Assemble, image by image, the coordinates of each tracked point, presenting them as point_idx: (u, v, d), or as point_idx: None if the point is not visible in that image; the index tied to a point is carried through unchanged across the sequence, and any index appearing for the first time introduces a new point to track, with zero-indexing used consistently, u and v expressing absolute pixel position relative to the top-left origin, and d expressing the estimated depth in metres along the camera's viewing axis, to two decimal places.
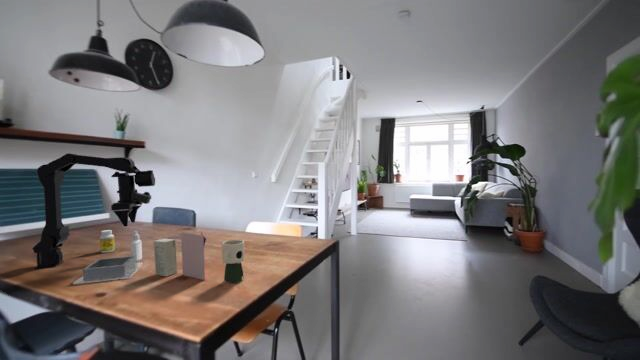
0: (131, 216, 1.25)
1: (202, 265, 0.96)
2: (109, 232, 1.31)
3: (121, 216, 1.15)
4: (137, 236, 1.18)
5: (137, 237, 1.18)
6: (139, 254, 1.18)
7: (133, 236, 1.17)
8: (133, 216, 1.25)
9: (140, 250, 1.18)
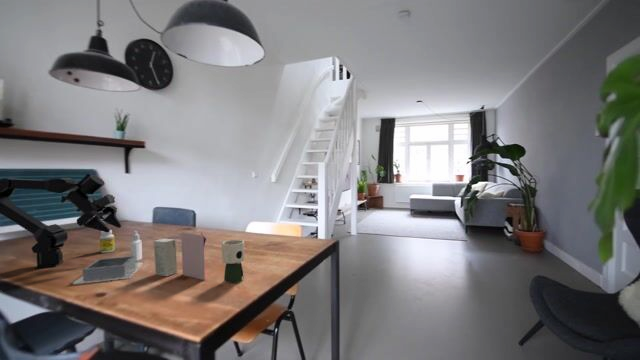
0: (114, 223, 1.21)
1: (202, 265, 0.96)
2: (109, 232, 1.31)
3: (96, 226, 1.10)
4: (137, 236, 1.18)
5: (137, 237, 1.18)
6: (139, 254, 1.18)
7: (133, 236, 1.17)
8: (116, 222, 1.21)
9: (140, 250, 1.18)
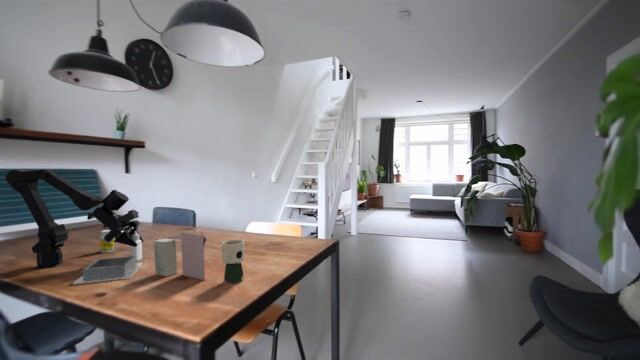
0: None
1: (202, 265, 0.96)
2: None
3: (124, 241, 1.14)
4: (137, 236, 1.18)
5: (137, 237, 1.18)
6: (139, 254, 1.18)
7: (133, 236, 1.17)
8: None
9: (140, 250, 1.18)
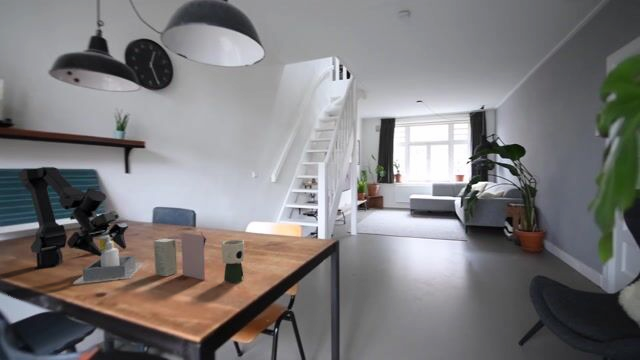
0: (120, 244, 1.07)
1: (202, 265, 0.96)
2: None
3: (88, 248, 0.97)
4: (109, 244, 1.02)
5: (109, 245, 1.02)
6: (111, 265, 1.01)
7: (105, 244, 1.02)
8: (121, 242, 1.07)
9: (113, 261, 1.02)
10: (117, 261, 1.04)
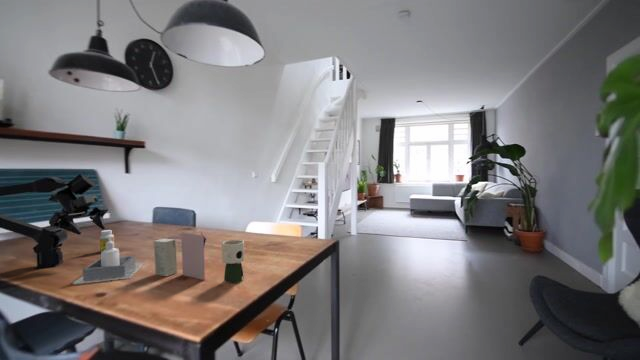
0: (99, 225, 1.16)
1: (202, 265, 0.96)
2: (109, 232, 1.31)
3: (68, 227, 1.06)
4: (110, 244, 1.02)
5: (110, 246, 1.02)
6: None
7: (106, 244, 1.02)
8: (100, 223, 1.16)
9: (113, 261, 1.02)
10: (117, 261, 1.04)
